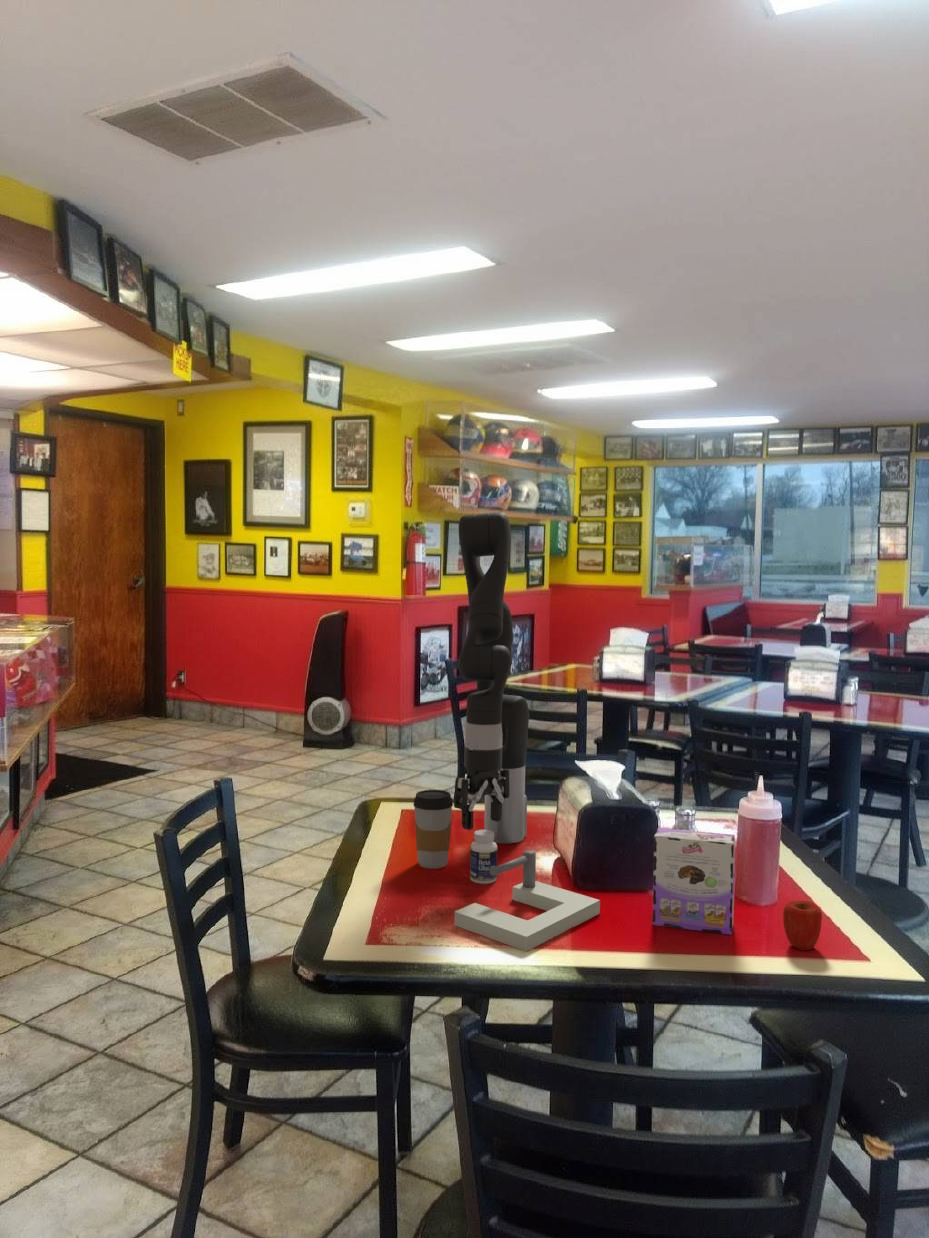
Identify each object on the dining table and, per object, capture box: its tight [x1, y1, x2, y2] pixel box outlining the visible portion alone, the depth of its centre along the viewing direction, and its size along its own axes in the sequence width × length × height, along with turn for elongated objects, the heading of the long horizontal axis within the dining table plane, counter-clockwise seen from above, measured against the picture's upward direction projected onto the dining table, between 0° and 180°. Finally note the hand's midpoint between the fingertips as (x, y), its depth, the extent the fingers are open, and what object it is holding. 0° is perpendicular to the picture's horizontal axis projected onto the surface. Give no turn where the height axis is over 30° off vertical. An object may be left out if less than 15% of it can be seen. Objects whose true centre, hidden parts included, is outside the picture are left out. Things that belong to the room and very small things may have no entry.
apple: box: [782, 900, 823, 951], centre depth 157 cm, size 6×6×8 cm
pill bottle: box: [469, 829, 498, 885], centre depth 187 cm, size 5×5×10 cm
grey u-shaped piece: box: [453, 849, 601, 952], centre depth 167 cm, size 22×16×9 cm
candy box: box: [651, 827, 736, 935], centre depth 166 cm, size 14×6×16 cm, turn 71°
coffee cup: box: [413, 789, 454, 869], centre depth 196 cm, size 8×8×15 cm
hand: (481, 824), depth 187 cm, fingers open, 8 cm apart
